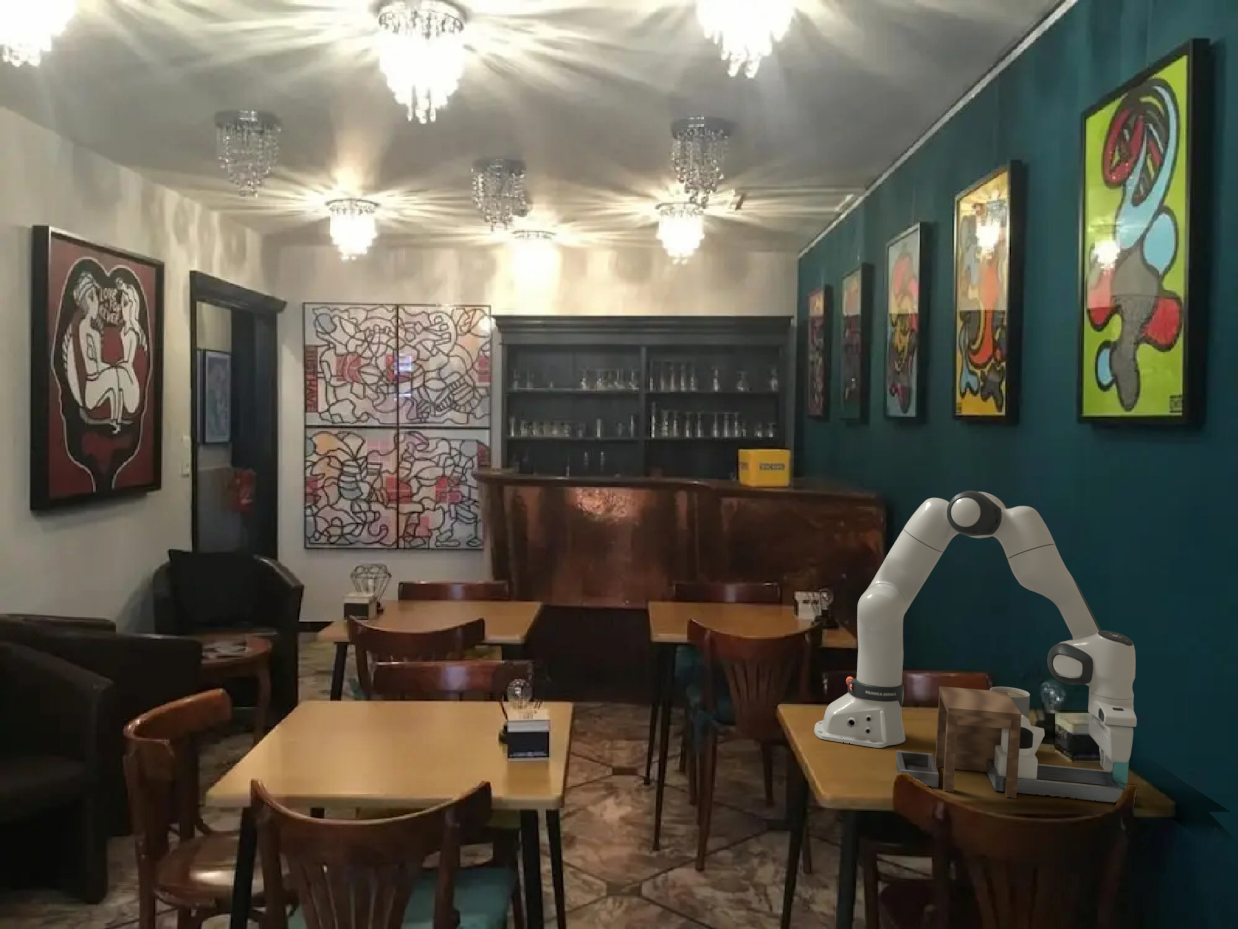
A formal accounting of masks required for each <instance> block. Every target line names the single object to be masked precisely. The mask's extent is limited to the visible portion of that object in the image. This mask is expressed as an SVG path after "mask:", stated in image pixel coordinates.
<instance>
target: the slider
mask: <svg viewBox="0 0 1238 929" xmlns="http://www.w3.org/2000/svg"><path fill="white" fill-rule="evenodd" d="M994 761H995V760H991V759H987V772H986V774H987V776H988V779H989V781H990V782H991V785H992V786H993V789H994V790H995V791H997V792H1005V784H1006V776H1000V775H999V773H998V771H997V769H996V767H995V765H994ZM1129 763H1130V760H1129V761H1128V762H1126V763H1125V762H1114V763H1113V770H1112V771H1105V770H1104V769H1095V768H1086V767H1085V768H1084V767H1074V766H1063V765H1053V764H1052V765H1051V764H1041V763H1038V765H1037V779H1026V778H1018V779H1017V794H1028V795H1035V794H1038V795H1039V796H1045V795H1050V796H1049V797H1055V796H1060V797H1059V798H1065V797H1070V798H1069V799H1075V798H1077V799H1078V800H1085V801H1086V800H1087V801H1095V800H1096V801H1098V802H1104V803H1105V802H1107V803H1115V802H1116V800H1117V799H1118V798H1119V797H1120V796H1121V795H1122V792H1123V791H1124V790H1125V788H1126V787H1128V786H1127V785H1126V784H1128V782H1129V781H1128V779H1129V765H1130V764H1129Z"/></svg>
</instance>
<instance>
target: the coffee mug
mask: <svg viewBox="0 0 1238 929" xmlns="http://www.w3.org/2000/svg"><path fill="white" fill-rule="evenodd" d="M989 690H990V691H1002V692H1007V693H1008V695H1009V696H1010V698H1011V699H1012V701H1013V702H1014V704H1015V705H1016V707H1017V708H1018V710H1019V711H1020V713H1021V715H1023V716H1025V717H1026V718H1027V719H1029V720H1030V703H1031V702H1030V701H1031V700H1030V699H1031V694H1030V693H1029V692H1028V691H1026V690H1024V689H1021V688H1016V687H1009V686H993V687H990V689H989Z"/></svg>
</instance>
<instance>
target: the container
mask: <svg viewBox="0 0 1238 929" xmlns="http://www.w3.org/2000/svg"><path fill="white" fill-rule="evenodd" d="M1008 735H1009V729H1002V736H1001V746H999V745H996V747H995V761H994V765H995V767H996V769H997V771H998V773H999V775H1000V776H1006V768H1007V751H1008ZM1032 747H1033V733H1032V731H1030V730H1029V729H1027V728H1024V727H1021V730H1020V746H1019V762H1018V778H1026V779H1037V780H1038V778H1037V765H1038V764H1039V763H1038V762H1039V760H1038V758H1037V756H1036V754H1035V755H1034V753H1033V751H1032Z"/></svg>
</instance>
